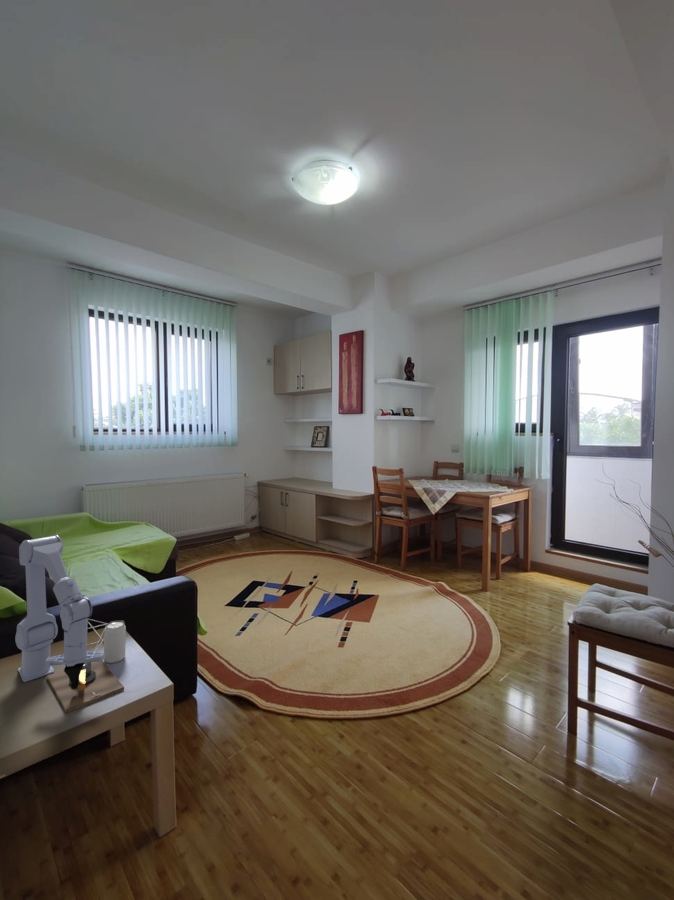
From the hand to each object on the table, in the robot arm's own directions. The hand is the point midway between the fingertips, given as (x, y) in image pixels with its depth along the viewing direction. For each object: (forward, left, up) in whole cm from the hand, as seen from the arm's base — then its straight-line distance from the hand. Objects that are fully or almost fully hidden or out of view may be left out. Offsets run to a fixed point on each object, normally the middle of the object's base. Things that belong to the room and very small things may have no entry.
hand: (75, 687), depth 119 cm
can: (-14, +15, -3) cm, 21 cm away
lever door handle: (-3, +3, -2) cm, 4 cm away
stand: (-5, +4, -3) cm, 7 cm away
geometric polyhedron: (-27, +11, -3) cm, 29 cm away
